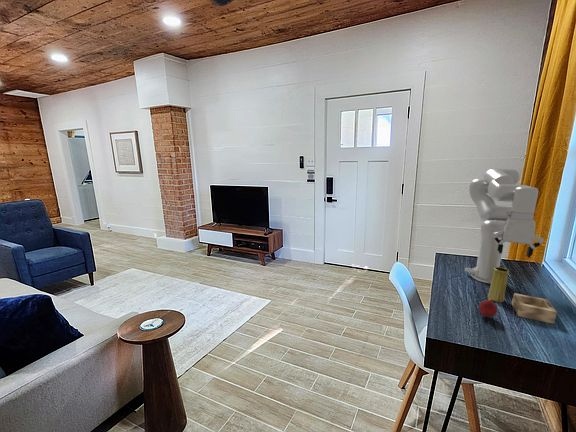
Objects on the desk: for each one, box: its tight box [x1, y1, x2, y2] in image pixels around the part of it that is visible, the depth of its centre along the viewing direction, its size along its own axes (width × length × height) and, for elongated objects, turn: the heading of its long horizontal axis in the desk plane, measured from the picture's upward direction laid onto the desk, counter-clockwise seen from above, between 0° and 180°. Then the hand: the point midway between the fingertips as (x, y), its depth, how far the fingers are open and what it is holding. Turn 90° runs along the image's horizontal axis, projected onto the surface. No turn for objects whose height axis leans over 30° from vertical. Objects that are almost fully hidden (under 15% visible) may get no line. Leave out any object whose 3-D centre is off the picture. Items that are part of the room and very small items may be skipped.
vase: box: [487, 266, 510, 303], centre depth 123 cm, size 6×6×14 cm
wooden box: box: [511, 292, 558, 325], centre depth 113 cm, size 11×11×5 cm
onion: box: [478, 298, 498, 318], centre depth 109 cm, size 6×6×8 cm
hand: (513, 254), depth 119 cm, fingers open, 9 cm apart
